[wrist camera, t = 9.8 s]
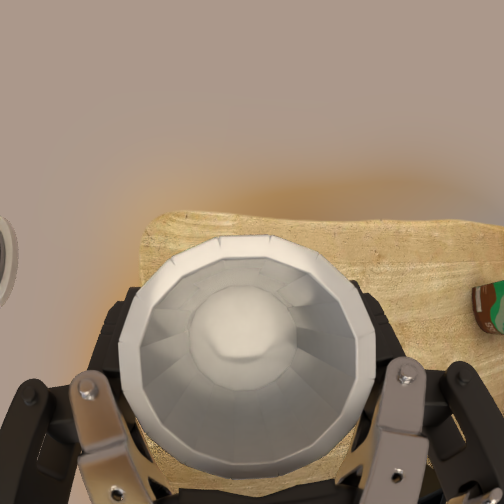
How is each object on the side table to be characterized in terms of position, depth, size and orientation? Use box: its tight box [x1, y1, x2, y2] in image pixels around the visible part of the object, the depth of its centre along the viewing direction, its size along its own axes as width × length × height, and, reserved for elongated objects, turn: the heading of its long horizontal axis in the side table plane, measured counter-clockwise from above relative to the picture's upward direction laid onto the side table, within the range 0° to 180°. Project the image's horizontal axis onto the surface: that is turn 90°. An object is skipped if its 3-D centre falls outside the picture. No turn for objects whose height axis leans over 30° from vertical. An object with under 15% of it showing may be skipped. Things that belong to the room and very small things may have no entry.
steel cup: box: [118, 234, 376, 480], centre depth 10 cm, size 6×6×8 cm
